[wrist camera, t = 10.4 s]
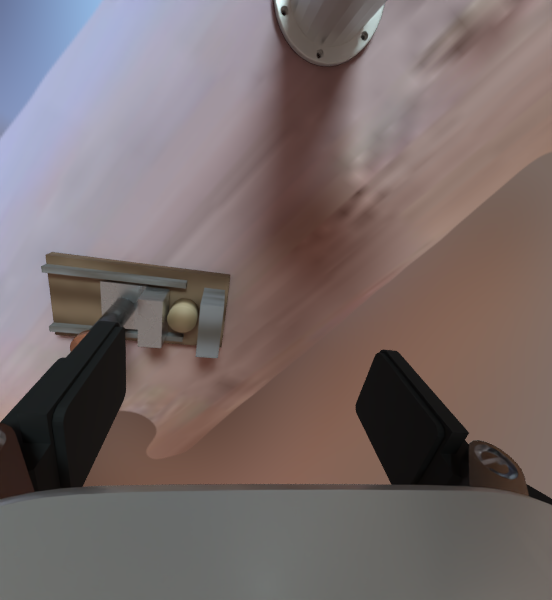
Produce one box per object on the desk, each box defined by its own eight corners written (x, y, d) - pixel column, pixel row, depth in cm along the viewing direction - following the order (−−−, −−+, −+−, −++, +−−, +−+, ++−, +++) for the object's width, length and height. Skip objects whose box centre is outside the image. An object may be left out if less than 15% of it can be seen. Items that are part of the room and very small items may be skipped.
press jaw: (101, 280, 40) (55, 318, 29) (170, 287, 42) (149, 326, 31) (104, 324, 42) (61, 374, 32) (168, 330, 44) (148, 379, 34)
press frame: (52, 252, 39) (14, 268, 32) (230, 274, 44) (229, 293, 37) (60, 329, 44) (29, 358, 37) (221, 342, 48) (219, 370, 42)
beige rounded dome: (172, 296, 42) (167, 305, 40) (199, 299, 43) (197, 308, 40) (170, 320, 44) (166, 331, 41) (197, 323, 45) (195, 333, 42)
